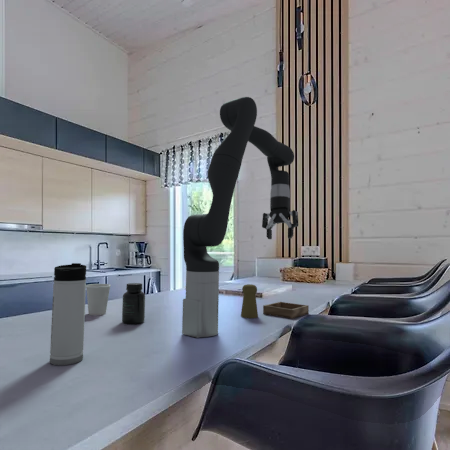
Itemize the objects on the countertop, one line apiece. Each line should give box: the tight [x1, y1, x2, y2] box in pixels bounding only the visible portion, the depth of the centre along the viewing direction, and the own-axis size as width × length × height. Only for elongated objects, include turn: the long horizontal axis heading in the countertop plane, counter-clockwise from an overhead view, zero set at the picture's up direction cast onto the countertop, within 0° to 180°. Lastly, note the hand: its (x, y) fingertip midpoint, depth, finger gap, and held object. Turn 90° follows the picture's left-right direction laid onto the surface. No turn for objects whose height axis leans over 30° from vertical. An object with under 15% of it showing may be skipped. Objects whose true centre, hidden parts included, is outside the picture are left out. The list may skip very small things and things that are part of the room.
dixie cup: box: [86, 283, 111, 316], centre depth 119 cm, size 8×8×10 cm
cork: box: [240, 283, 259, 319], centre depth 118 cm, size 6×6×11 cm
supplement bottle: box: [121, 282, 146, 326], centre depth 107 cm, size 7×7×12 cm
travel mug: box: [49, 262, 87, 366], centre depth 71 cm, size 6×7×20 cm
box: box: [262, 301, 310, 320], centre depth 123 cm, size 12×12×3 cm
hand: (279, 238), depth 129 cm, fingers open, 8 cm apart
